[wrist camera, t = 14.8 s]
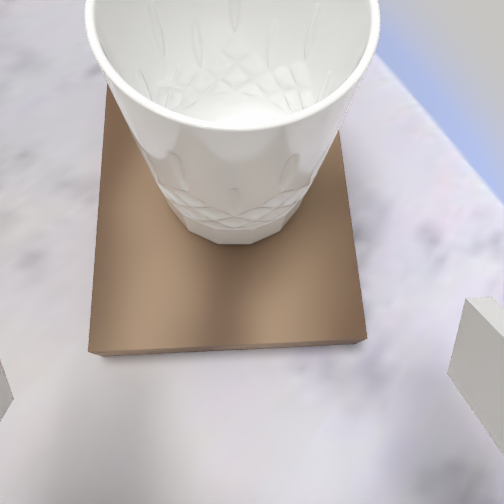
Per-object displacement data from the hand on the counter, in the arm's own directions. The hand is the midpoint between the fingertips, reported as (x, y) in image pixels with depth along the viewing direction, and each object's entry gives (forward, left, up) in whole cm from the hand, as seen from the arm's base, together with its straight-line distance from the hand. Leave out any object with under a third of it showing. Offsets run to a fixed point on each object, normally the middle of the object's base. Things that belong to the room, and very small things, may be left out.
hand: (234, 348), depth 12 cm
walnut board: (0, +9, -8) cm, 12 cm away
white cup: (0, +9, -6) cm, 11 cm away
